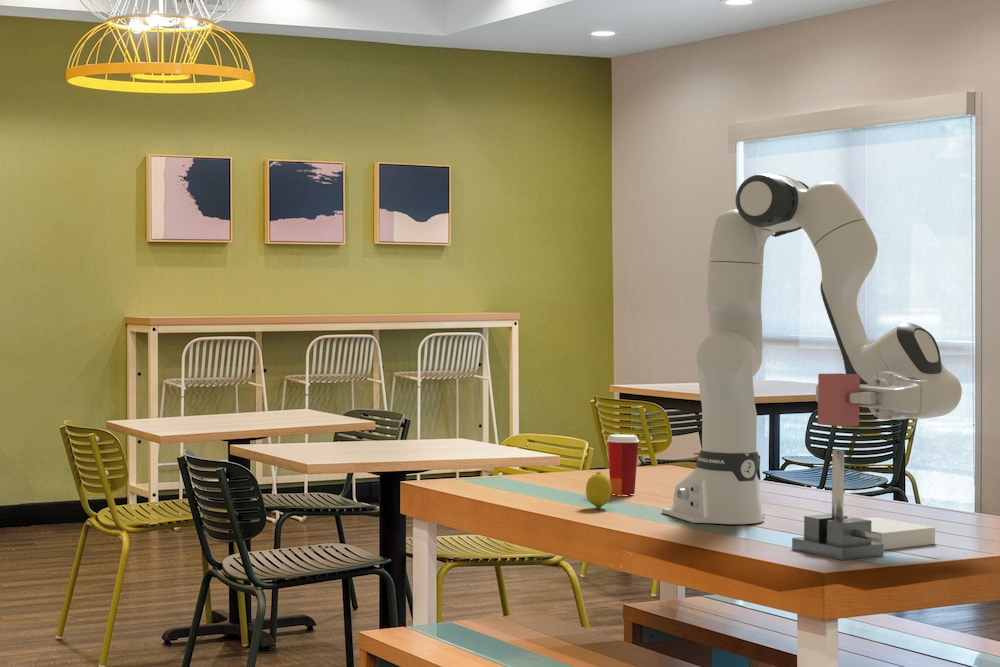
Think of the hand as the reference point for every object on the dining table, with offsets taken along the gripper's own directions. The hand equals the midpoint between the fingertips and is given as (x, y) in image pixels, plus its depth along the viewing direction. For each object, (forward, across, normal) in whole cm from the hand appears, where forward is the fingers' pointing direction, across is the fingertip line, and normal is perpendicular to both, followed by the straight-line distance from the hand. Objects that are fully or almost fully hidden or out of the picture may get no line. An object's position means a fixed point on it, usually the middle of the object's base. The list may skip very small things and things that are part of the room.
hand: (835, 396), depth 217 cm
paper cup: (-11, -78, +28) cm, 83 cm away
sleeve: (-1, 0, +5) cm, 5 cm away
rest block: (-17, -5, +28) cm, 33 cm away
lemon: (+7, -62, +28) cm, 68 cm away
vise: (-1, +2, +27) cm, 28 cm away
